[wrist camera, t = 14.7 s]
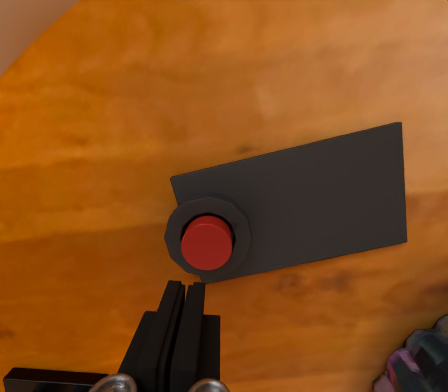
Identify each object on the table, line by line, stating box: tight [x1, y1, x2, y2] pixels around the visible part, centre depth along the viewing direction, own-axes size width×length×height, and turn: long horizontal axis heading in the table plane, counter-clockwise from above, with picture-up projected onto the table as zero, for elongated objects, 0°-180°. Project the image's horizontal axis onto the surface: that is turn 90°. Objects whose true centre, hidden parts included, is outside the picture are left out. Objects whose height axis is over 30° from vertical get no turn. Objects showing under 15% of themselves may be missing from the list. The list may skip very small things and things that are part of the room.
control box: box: [164, 122, 407, 284], centre depth 18 cm, size 19×10×2 cm, turn 104°
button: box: [181, 216, 232, 270], centre depth 16 cm, size 4×4×2 cm
